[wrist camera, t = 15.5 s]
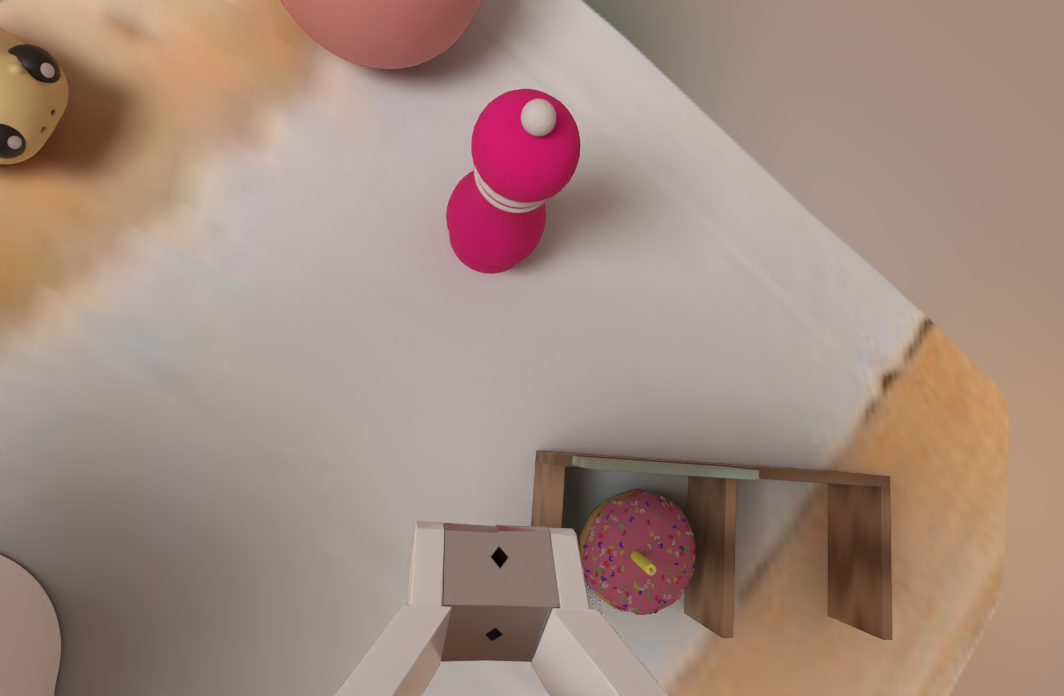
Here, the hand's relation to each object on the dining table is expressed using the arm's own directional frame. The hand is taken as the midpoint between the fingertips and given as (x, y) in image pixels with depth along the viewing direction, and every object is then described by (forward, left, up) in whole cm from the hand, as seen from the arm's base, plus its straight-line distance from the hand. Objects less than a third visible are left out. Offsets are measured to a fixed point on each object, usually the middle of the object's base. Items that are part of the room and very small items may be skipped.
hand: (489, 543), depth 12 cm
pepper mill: (+16, +8, -36) cm, 40 cm away
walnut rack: (+8, -20, -35) cm, 42 cm away
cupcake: (+4, -16, -36) cm, 39 cm away
